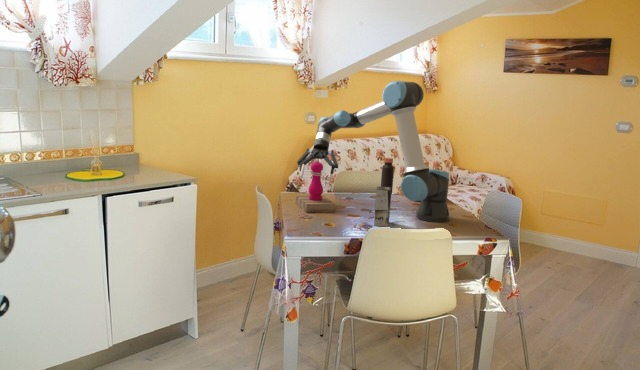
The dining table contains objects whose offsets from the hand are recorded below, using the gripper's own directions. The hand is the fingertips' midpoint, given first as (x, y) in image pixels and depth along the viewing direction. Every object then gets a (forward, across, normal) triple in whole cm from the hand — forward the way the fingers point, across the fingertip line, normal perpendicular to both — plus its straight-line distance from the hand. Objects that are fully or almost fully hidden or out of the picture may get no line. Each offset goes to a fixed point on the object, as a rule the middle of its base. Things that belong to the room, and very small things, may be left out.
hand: (315, 177), depth 253 cm
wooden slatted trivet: (+9, 0, -12) cm, 15 cm away
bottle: (-28, -32, -50) cm, 66 cm away
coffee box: (+24, -34, +2) cm, 42 cm away
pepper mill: (+7, 0, -10) cm, 12 cm away
